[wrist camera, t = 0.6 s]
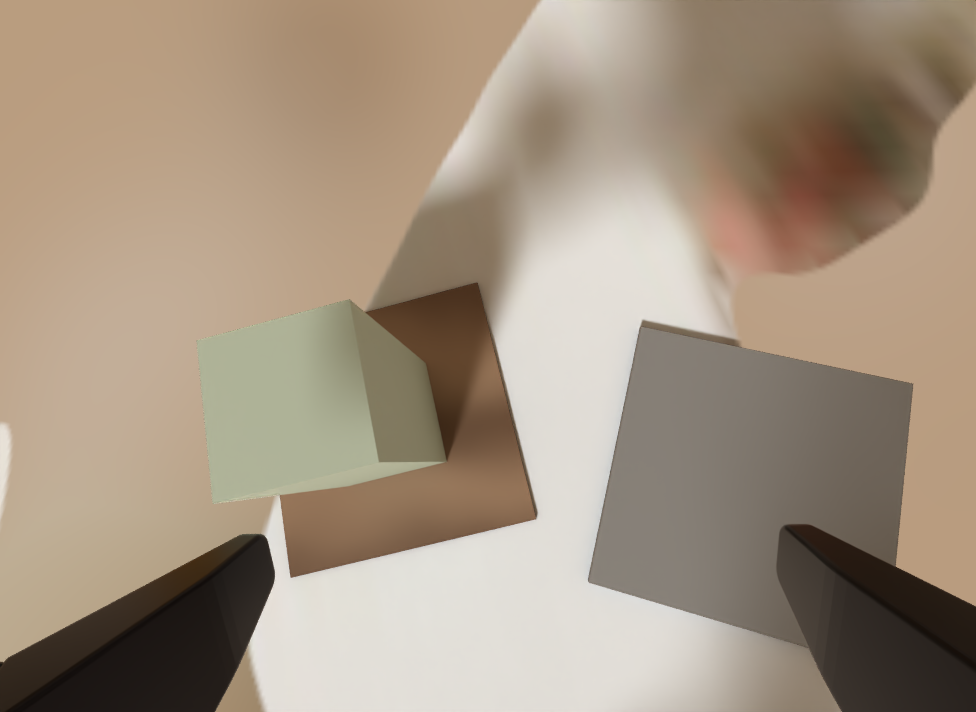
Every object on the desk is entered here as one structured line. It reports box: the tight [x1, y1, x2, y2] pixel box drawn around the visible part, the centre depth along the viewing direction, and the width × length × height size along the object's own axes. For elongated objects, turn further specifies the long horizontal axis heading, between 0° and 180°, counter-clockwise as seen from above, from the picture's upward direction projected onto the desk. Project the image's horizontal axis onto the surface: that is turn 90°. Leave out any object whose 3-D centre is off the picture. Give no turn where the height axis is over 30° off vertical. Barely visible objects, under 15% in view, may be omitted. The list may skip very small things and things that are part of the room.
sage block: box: [197, 299, 447, 504], centre depth 19 cm, size 5×5×10 cm
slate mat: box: [588, 327, 913, 648], centre depth 22 cm, size 12×12×1 cm
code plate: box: [280, 283, 536, 578], centre depth 24 cm, size 12×12×1 cm
